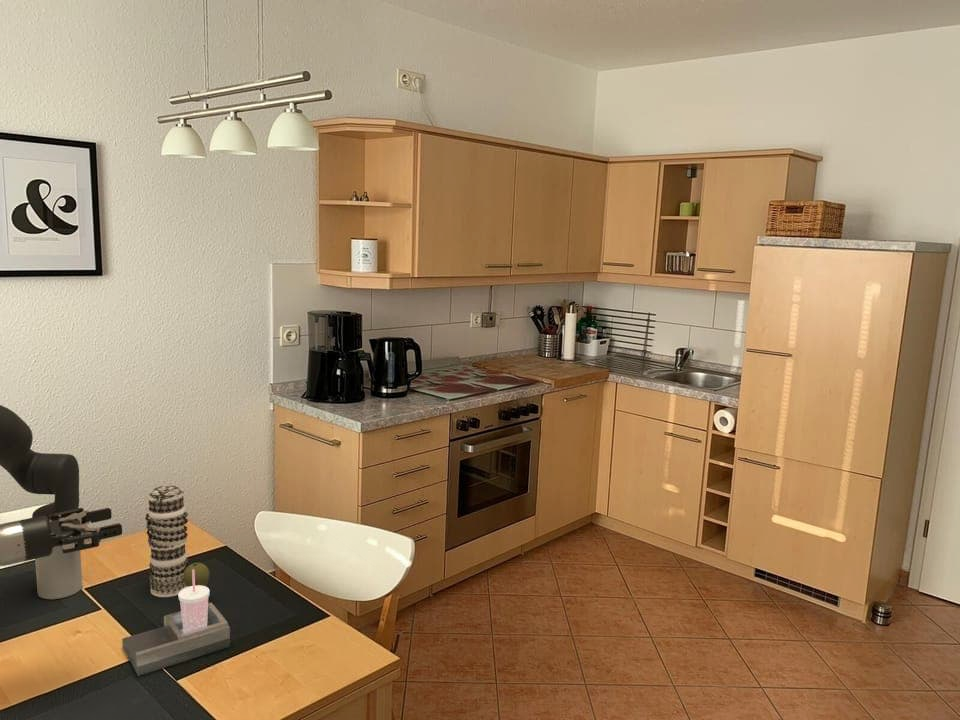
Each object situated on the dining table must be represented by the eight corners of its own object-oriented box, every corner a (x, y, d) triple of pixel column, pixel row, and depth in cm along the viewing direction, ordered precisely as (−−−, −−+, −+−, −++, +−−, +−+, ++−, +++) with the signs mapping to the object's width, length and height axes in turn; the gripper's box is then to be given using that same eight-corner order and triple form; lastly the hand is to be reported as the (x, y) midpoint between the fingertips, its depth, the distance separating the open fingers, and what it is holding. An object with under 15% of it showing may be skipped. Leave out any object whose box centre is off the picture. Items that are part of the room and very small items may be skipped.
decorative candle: (155, 602, 172) (150, 499, 167) (143, 586, 179) (139, 487, 174) (195, 591, 177) (192, 491, 173) (183, 575, 184) (179, 479, 180)
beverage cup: (217, 628, 158) (215, 567, 155) (195, 642, 152) (193, 579, 150) (195, 621, 160) (193, 560, 158) (173, 635, 155) (170, 572, 152)
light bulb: (201, 612, 168) (200, 570, 166) (179, 608, 169) (177, 567, 167) (215, 600, 174) (213, 560, 172) (193, 596, 175) (192, 557, 173)
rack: (122, 647, 154) (121, 625, 153) (210, 621, 165) (210, 600, 164) (137, 676, 144) (136, 652, 143) (230, 646, 155) (229, 624, 154)
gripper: (23, 536, 129) (124, 515, 139) (12, 508, 140) (106, 490, 150) (27, 576, 131) (126, 552, 141) (15, 545, 142) (108, 525, 151)
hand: (116, 520), depth 145 cm, fingers open, 8 cm apart
